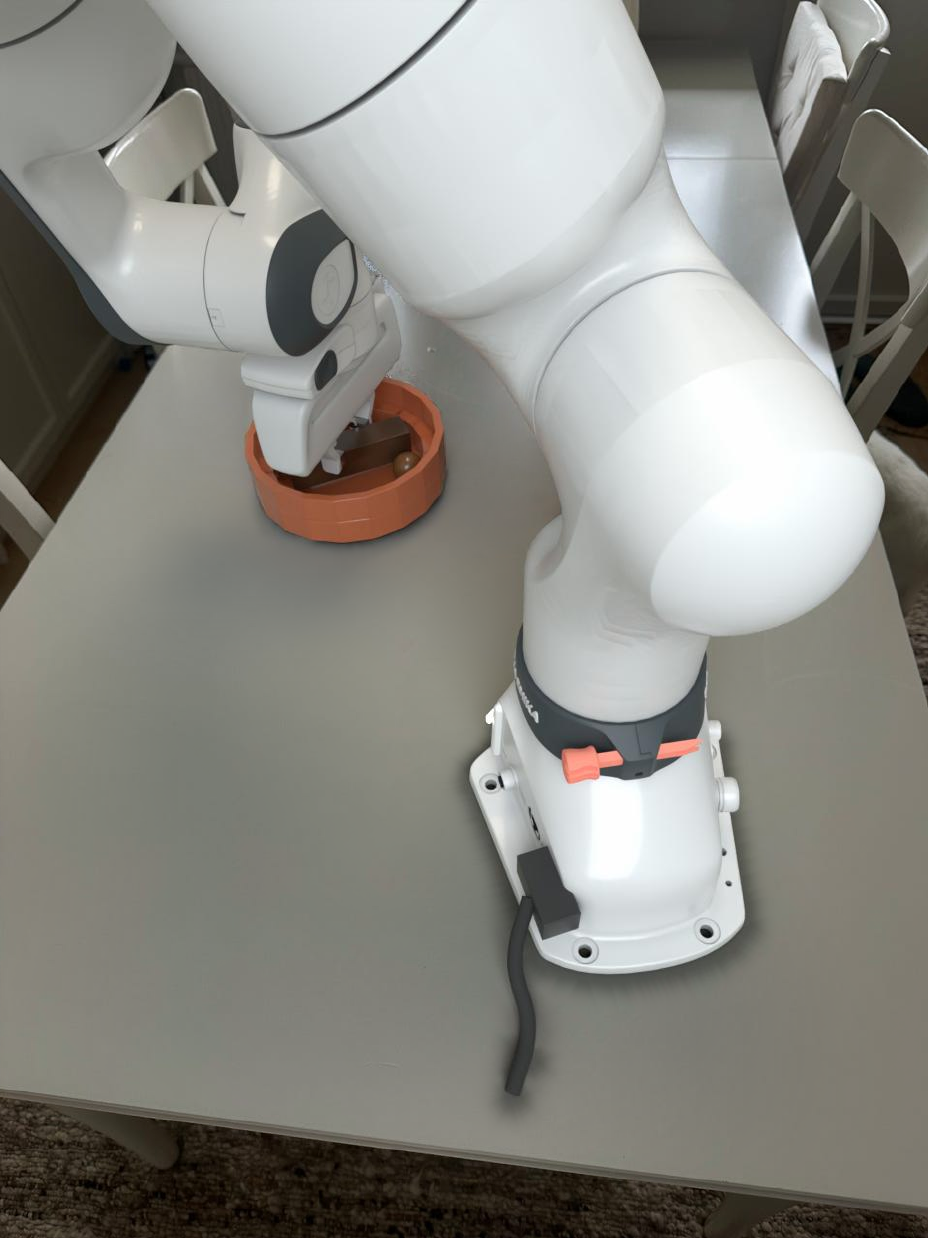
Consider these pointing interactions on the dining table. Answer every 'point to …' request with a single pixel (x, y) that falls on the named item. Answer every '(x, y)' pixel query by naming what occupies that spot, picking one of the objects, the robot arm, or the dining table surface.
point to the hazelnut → (405, 463)
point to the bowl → (360, 479)
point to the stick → (362, 451)
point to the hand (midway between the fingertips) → (348, 450)
